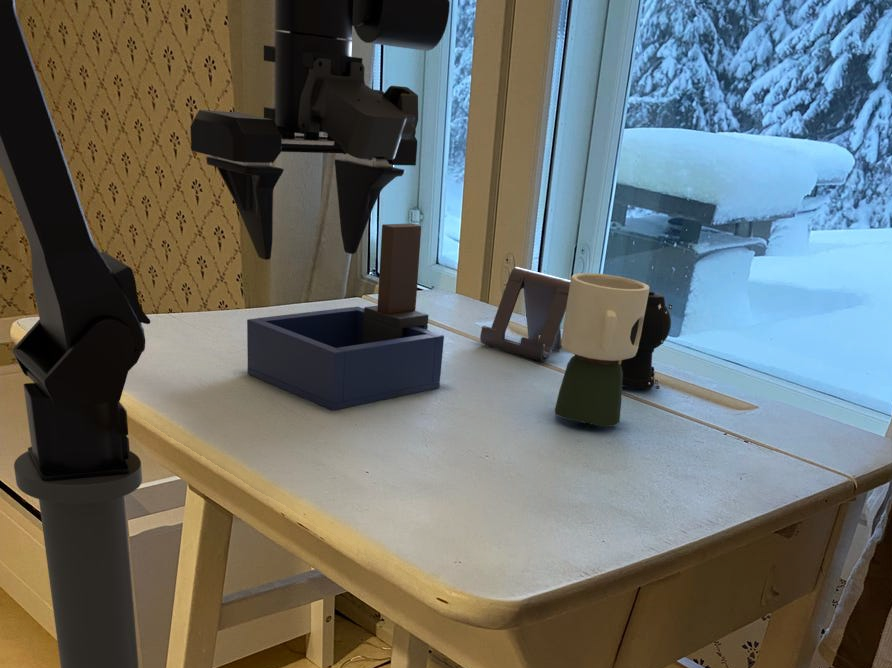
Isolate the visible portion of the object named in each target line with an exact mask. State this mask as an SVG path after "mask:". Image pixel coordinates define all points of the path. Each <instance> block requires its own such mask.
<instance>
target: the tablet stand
mask: <svg viewBox="0 0 892 668" xmlns="http://www.w3.org/2000/svg"><path fill="white" fill-rule="evenodd" d="M506 282H507V283H506V284H505V288H504V291H503V293H502V296H501V300H500V302H499V305H498V308H497V311H496V313H495V316H494V320H493V322H492V324H491V326H490V327H489V326H487V325H482V326H481V331H480V335H479V340H480V343H481V344H482V345H484V346H488V347H490V348H495V349H498V350H502V351H505V352H508V353H512V354H516V355H518V356H521V357H525V358H528V359H532V360H533V361H537V362H542V363H546V362H547V361H548V360H549V358H550V356H551V353H552V350H553V349H555V350H561V349H562V348H563V347H562V346H561V339H562V331H561V329H562V327H561V326H562V322H563V320H564V318H565V313H566V307H567V300H568V294H569V288H570V282H571V279H570V280H569V279H567V278H561V277H557V276H554V275H550V274H545V273H543V272H537V271H533V270H530V269H527V268H522V267H519V266H515V267H513V268H512V270H511V271H510V274H509V276H508V280H507V281H506ZM521 290H523V296H524V307H525V318H526V327H527V336H528V337H524V336H522V337H521V338H520V342H517V341H513V340H510V339H507V338H506V331H507V330H508V326H509V324H510V320H511V318H512V315H513V312H514V309H515V306H516V304H517V301H518V298H519V295H520V294H521V293H520V292H521Z"/></svg>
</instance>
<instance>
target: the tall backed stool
mask: <svg viewBox="0 0 892 668" xmlns="http://www.w3.org/2000/svg"><path fill="white" fill-rule="evenodd" d="M422 229H423V226H422V225H419V224H415V223H411V222H409V223H389V224H388V223H387V224H385V223H384V224H383V223H382V225H381V236H380V237H381V239H380V240H381V241H380V255H379V256H380V257H379V271H378V272H379V274H378V275H379V276H378V289H377V290H378V291H377V305H372V306H371V305H369V306H364V307H363V308H364V322H363V342H362V344H366V343H372V342H379V341H385V340H392V339H398V338H402V331H403V329H402V328H408V327H415V326H417V327H420V328H423V329H426V330H428V326H429V314H428V313H423V312H421V311H418V310H416V308H417V297H418V296H417V295H418V283H419V281H418V280H419V269H420V255H421V245H422V242H421V241H422Z"/></svg>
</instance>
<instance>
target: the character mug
mask: <svg viewBox="0 0 892 668" xmlns="http://www.w3.org/2000/svg"><path fill="white" fill-rule="evenodd" d="M570 281H571V282H570V288H569V294H568V300H567V307H566V312H565V314H564V319H563V320H564V321H563V327H562V332H561V346H562V348H563V349H564V350H566V351H567V352H569V353H572V354H573V356H572V357H570V359H569V360H568V362H567V364H566V368H565V370H564V374H563V377H562V381H561V384H560V386H559V390H558V391H559V392H558V395H557V398H556V403H555V406H554V413H555V415H556V416H558V417H560V418H563V419H566V420H571V421H574V422H580V423H583V426H584V427H587V428H589V427H590V426H591V425H594V426H599V427H602V428H605V427H611V426H613V427H614V426H616V425H618V424H619V423H620V419H621V411H622V398H623V386H622V380H623V371H622V368H621V360H624V359H628V358H632V357H634V356H635V355H636V353H637V350H638V346H639V341H640V337H641V331H642V326H643V320H644V315H645V310H646V305H647V300H648V294H649V291H650V286H649V285H648V284H646V283H644V282H642V281H639V280H636V279H632V278H627V277H624V276H617V275H612V274H607V273H606V274H605V273H595V272H594V273H593V272H580V273H576V274H575V273H574V274H573V275H571V277H570Z"/></svg>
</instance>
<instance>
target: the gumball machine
mask: <svg viewBox="0 0 892 668" xmlns="http://www.w3.org/2000/svg"><path fill="white" fill-rule="evenodd" d="M672 308H673V305H672V304H668V306H667V305H666V298H665V295H663V294H661V293H660V292H656V291H653V290H649V294H648V300H647V305H646V310H645V315H644V320H643V326H642V331H641V337H640V341H639V346H638V350H637V353H636V355H635V356H634V357H632V358H628V359H624V360H621V368H622V371H623V380H622V387H625V388H630V389H637V390H638V389H639V390H645V389H646V390H647V389H652V388H653V387H655V389H656V390H659V389H660V385H658V383H659V380H658V379H655V374H656V373H655V368H654V366H653V353H654V352H655V349H657V348H659V347H660V346H661V345H664V342H665V341H666V340H667V338H668V337H669V335H670V332H671V328H672V327H671V326H672V317H671V312H670V310H672ZM655 385H656V386H655Z"/></svg>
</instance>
